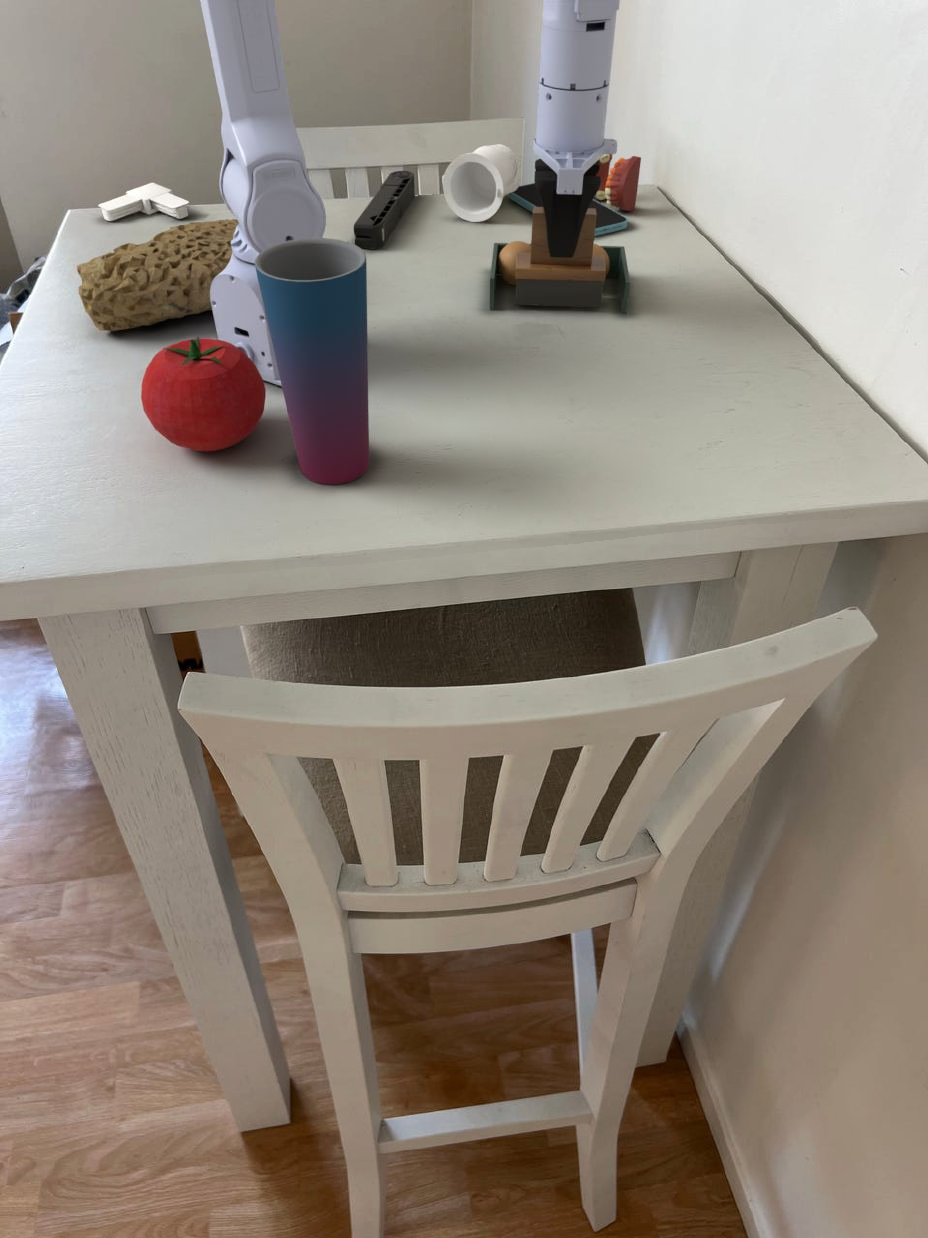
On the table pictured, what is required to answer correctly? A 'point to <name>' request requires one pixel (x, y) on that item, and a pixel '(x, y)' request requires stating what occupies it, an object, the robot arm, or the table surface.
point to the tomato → (203, 394)
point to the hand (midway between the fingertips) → (561, 251)
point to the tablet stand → (385, 210)
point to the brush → (560, 269)
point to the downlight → (480, 182)
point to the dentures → (619, 181)
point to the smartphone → (604, 216)
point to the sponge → (156, 276)
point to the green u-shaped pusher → (615, 271)
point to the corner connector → (145, 203)
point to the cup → (321, 351)
